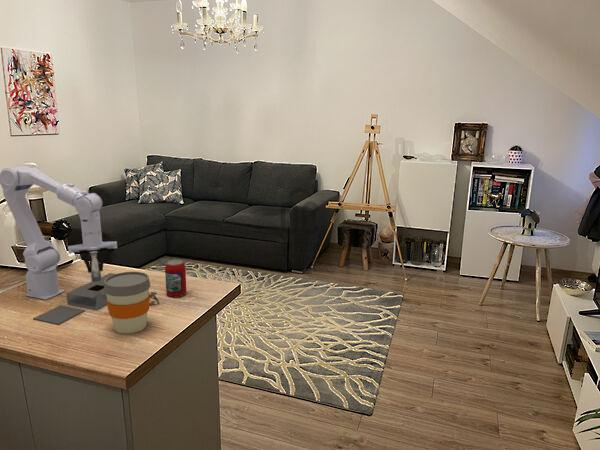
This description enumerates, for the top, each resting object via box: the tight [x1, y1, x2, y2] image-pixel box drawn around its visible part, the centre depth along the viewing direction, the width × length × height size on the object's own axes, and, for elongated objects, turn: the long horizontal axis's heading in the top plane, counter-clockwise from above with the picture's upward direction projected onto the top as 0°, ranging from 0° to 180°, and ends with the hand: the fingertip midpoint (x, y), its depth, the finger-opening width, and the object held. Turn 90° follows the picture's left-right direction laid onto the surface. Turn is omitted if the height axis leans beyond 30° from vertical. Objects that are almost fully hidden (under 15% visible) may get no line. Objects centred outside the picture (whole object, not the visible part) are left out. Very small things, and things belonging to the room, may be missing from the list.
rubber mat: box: [32, 304, 86, 326], centre depth 138 cm, size 10×10×1 cm
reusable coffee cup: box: [104, 271, 151, 335], centre depth 130 cm, size 13×12×15 cm
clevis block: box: [65, 272, 115, 311], centre depth 152 cm, size 12×20×4 cm, turn 161°
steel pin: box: [88, 250, 102, 282], centre depth 147 cm, size 3×3×10 cm
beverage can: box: [164, 258, 187, 298], centre depth 154 cm, size 7×7×12 cm
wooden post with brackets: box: [149, 291, 160, 307], centre depth 146 cm, size 2×8×4 cm, turn 114°
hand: (95, 271), depth 147 cm, fingers closed on steel pin, 3 cm apart
